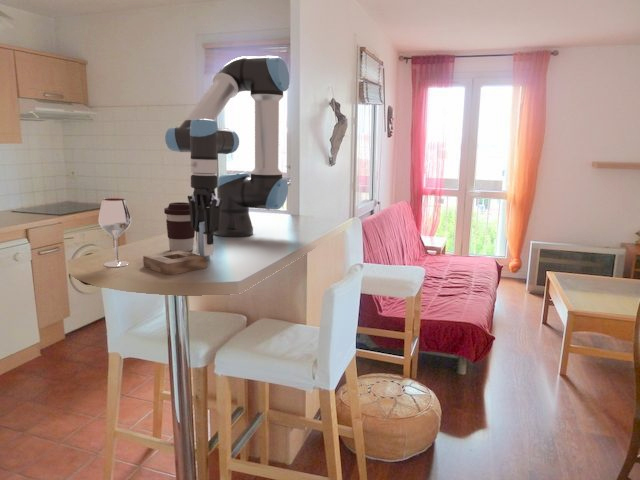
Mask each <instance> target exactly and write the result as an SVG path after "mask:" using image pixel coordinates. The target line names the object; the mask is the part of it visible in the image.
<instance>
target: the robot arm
mask: <svg viewBox="0 0 640 480" xmlns="http://www.w3.org/2000/svg"><path fill="white" fill-rule="evenodd" d="M288 68H289V67H288V66H287V64H286V62H285V60H284V59H283V58H282V57H280V56H277V55H276V56H275V55H274V56H273V55H263V56H262V55H261V56H259V55H257V56H241V57H237V58H235V59H232V60H231V61H229V62H227V63H226V64H225V65H224V66H223V67H221V68H220V69H219V70H218V72H216V74H215V75H214V76H213V78H212V84H211V85H210V86H209V88H208V89H207V90H206V92H205V93H204V94H203V96H201V98H200V100H199V101H198V102H197V103H196V105H194V107H193V109H192V110H191V111H190V112H189V114H188V115H187V117H185V119H184V120H183V122H182V123H181V124H180V126H179V127H178V126H174V127H170V128H168V129H167V130H166V132H165V137H164V141H165V144H166V146H167V148H168V150H170V151H172V152H178V153H190V173H192V174H191V175H190V187H191V189H194V190H193V192H192V194H191V195H187V200H188V203H189V207H190V220H191V228H192V229H193V228H194V229H195V240H196V254H197V255H200V238H199V222H205V232H203V233H204V256H207V255H210V256H212V255H214V254H213V253H214V235H216V236H221V237H229V238H230V237H231V238H232V237H235V238H237V237H249V236H251V235H253V234H254V226H253V224H252V220H251V218H250V212H249V210H250V209H259V210H260V209H262V210H266V211H267V210H268V211H269V210H275V211H276V210H279V209H281V208H282V207H283V206H284V204H285V202H286V200H287V196H288V192H289V185H288V180H287V179H285V178H284V177H283V172H282V171H281V170H280V169H279V143H280V142H279V139H280V137H279V134H280V133H279V132H280V131H279V129H280V128H279V125H280V123H279V121H280V103H279V102H280V101H281V100H282V99H283V98H284V92H286V91H288V89H289V86H290V72H289V69H288ZM240 92H250V97H251V98H252V99H253V100H254V169H252V171H251V172H250V174H249V172H242V173H230V174H221V175H219V177H218V175H216V174H218V171H219V170H218V167H219V166H218V154H223V155H228V154H232V153H235V152H236V151H237V150H238V148H239V145H240V138H239V136H238V134H237V132H236V131H234V130H232V129H229V128H221V127H218V123H217V121H216V120H217V118H218V116H219V115H220V113H221V112H222V111H223V109H224V108H225V107H226V105H228V102H229V101H230V99H232V98H235V97H236V96H237V95H238V93H240ZM215 189H217V195H216V193H215V192H216V191H215Z"/></svg>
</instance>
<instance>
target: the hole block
mask: <svg viewBox="0 0 640 480" xmlns="http://www.w3.org/2000/svg"><path fill="white" fill-rule="evenodd" d="M142 256H143V257H142V259H143V267H144V268H146V269H149V270H153V271H155V272H158V273H160V274H164V275H166V276H172V275H176V274H181V273H186V272H192V271H197V270H203V269H207V267H208V266H207V264H208V263H207V261H208V260H207V257H204V256H201V255H200V254H197V253H193V252H191V251H187V252H186V251H183V250H179V251H167V252H161V253H154V254H147V255H142ZM202 268H203V269H202Z"/></svg>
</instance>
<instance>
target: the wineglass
mask: <svg viewBox="0 0 640 480" xmlns="http://www.w3.org/2000/svg"><path fill="white" fill-rule="evenodd" d="M98 213H99V214H98V225H99V226H100V227H101V228H102V230H103V231H104V232H106V233H107V234H108V235H110V237H112V238H113V243H114V260H113V261H108V262H105V263H104V264H103V266H105V267H108V268H121V267H126V266H129V265H130V262H129V261H125V260H119V249H118V248H119V247H118V241H119V240H118V239H119V237H120V236H121V235H122V234H123V233H125V232H126V230H128V228H129V227H130V225H131V223H132V216H131V212H130V209H129V206H128V203H127V200H126V199H125V198H120V197H119V198H118V197H117V198H116V197H113V198H102V200H101V204H100V208H99V212H98Z"/></svg>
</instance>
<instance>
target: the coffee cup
mask: <svg viewBox="0 0 640 480" xmlns="http://www.w3.org/2000/svg"><path fill="white" fill-rule="evenodd" d="M168 204H169V205H168V206H167V207H165V208H164V209H163V211H164V214H165V216H166V219H165V220H166V222H165V223H166V230H167V231H166V232H167V233H166V234H167V237H168V245H169V250H170V252H173V251H179V250H183V251H186V252H191V251H193V250H194V241H195V240H194V239H195V237H196V231H195V229H194V228H193V229H192V228H191V220H190V207H189V202H179V201H177V202H170V203H168Z"/></svg>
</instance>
